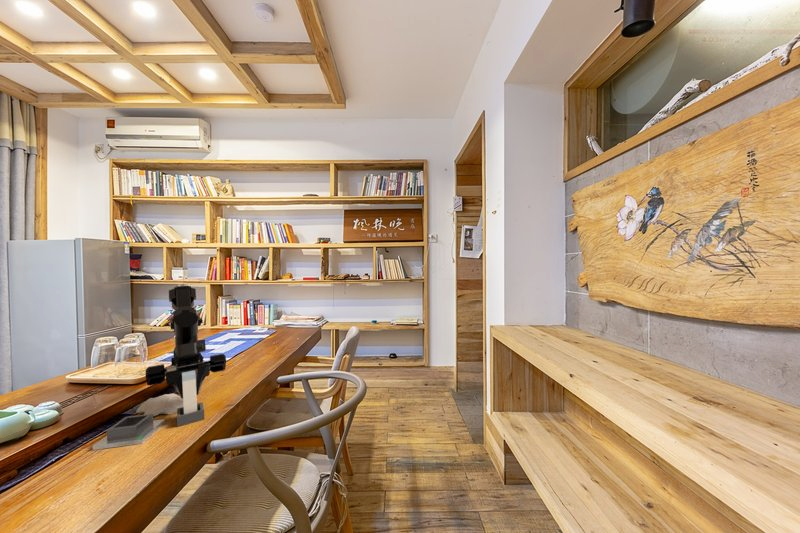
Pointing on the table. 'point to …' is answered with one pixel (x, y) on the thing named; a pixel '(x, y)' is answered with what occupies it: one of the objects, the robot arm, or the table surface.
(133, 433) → the port
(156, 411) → the decorative stone
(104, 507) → the table surface
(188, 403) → the plug
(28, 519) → the table surface
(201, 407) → the grey hollow square frame
